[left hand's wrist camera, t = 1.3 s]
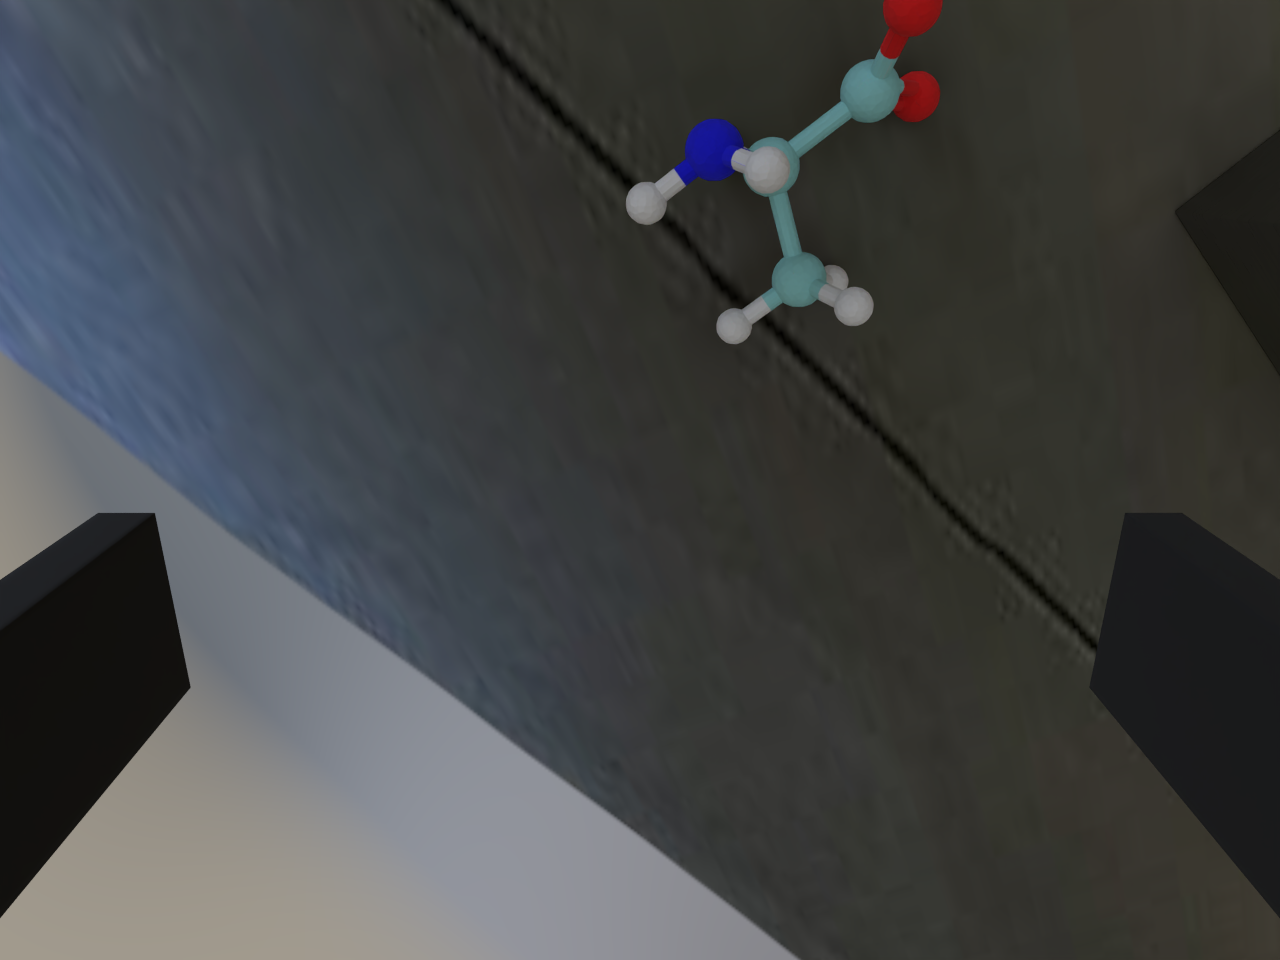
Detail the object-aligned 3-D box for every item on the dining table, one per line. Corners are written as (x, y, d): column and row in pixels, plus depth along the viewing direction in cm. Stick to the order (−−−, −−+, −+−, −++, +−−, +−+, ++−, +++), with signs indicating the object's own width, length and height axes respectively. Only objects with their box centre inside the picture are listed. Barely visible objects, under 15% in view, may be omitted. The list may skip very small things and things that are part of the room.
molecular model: (980, 375, 31) (921, 332, 22) (725, 353, 35) (591, 309, 26) (1033, 31, 30) (995, -158, 21) (766, 53, 34) (642, -95, 26)
